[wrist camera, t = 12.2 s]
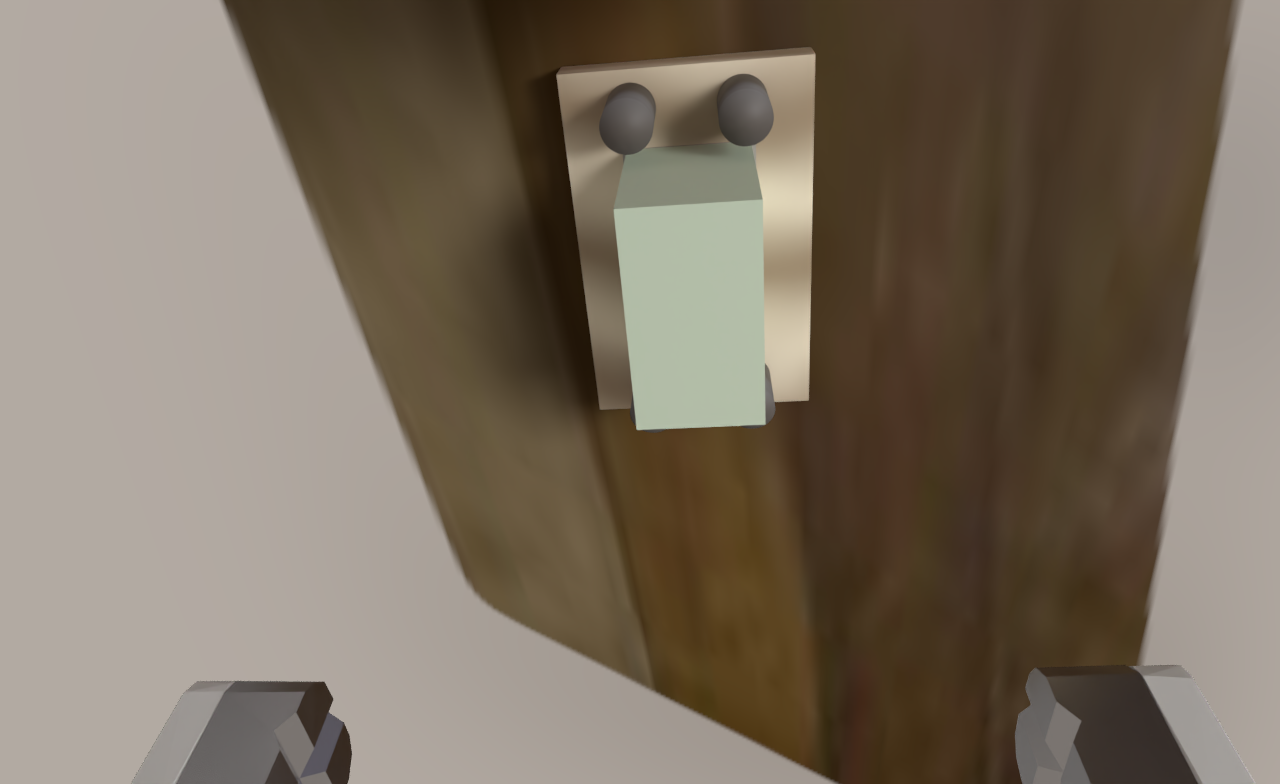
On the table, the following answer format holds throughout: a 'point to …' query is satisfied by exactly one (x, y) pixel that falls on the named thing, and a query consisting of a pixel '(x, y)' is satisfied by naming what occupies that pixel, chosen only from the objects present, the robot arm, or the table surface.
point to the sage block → (693, 285)
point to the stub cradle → (694, 115)
